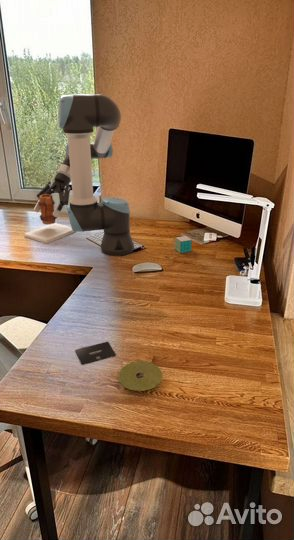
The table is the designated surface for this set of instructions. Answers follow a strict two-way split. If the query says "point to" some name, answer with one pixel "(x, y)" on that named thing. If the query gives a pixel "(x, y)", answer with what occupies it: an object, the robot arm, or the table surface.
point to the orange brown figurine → (47, 209)
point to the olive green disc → (140, 376)
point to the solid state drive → (95, 353)
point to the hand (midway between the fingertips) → (44, 213)
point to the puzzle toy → (183, 244)
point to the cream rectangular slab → (49, 233)
